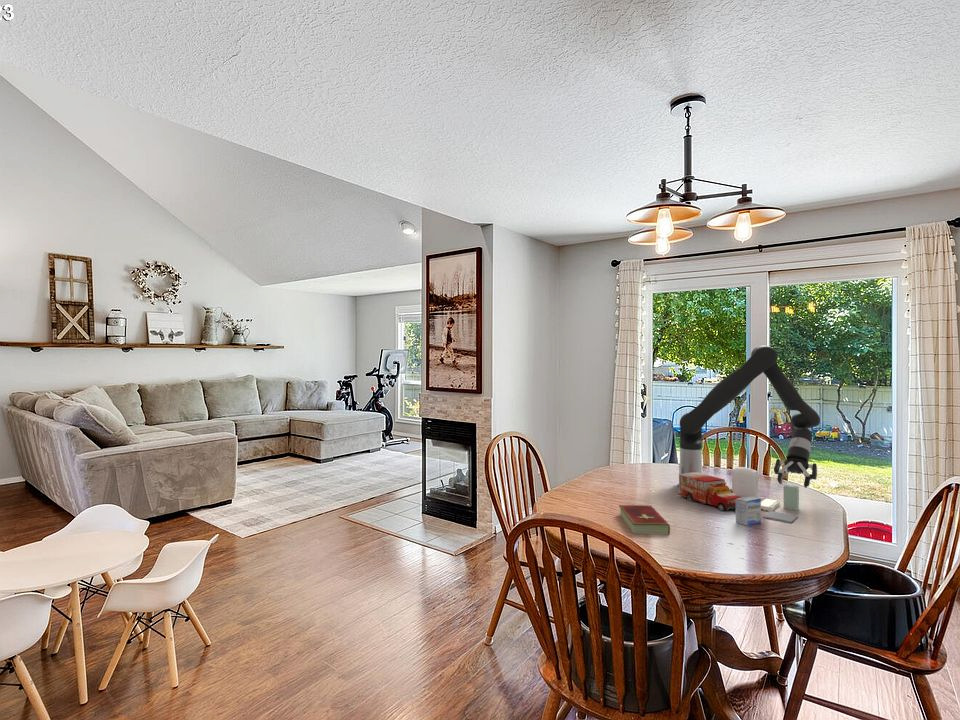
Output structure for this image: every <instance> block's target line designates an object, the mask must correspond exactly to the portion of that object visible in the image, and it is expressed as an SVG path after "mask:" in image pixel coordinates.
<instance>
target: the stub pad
mask: <svg viewBox="0 0 960 720" xmlns="http://www.w3.org/2000/svg"><path fill="white" fill-rule="evenodd" d="M797 517H799V516H798V515H795V514H791V513H784V512H779V511H774V510H773V511H768V512H767V513H765V514H764V515H763V516H762V518H764V519H767V518H769V519H768V520H772V519H773V520H772V521H777V522H783V523H788V522H789V524H793V523H794V522H795V521H796V520H797V519H798V518H797ZM796 518H797V519H796ZM795 519H796V520H795ZM794 520H795V521H794ZM793 521H794V522H793ZM792 522H793V523H792Z"/></svg>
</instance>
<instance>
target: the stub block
mask: <svg viewBox="0 0 960 720" xmlns="http://www.w3.org/2000/svg"><path fill="white" fill-rule="evenodd" d="M799 503H800V486H797V485H791V484H784V485H783V509H787V508H790V509H789V510H792V509H796V510H795V511H798V510H799V509H800V504H799ZM798 508H799V509H798ZM797 509H798V510H797Z"/></svg>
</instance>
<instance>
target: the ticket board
mask: <svg viewBox="0 0 960 720" xmlns="http://www.w3.org/2000/svg"><path fill="white" fill-rule="evenodd" d="M779 506H781V501H780V500H776V499H770V498H765V499H763V500H761V509H763V510H762V511H766V510H768V512H769V511H774V510H775V508H776V509H777V508H778V507H779Z"/></svg>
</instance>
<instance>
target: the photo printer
mask: <svg viewBox="0 0 960 720" xmlns="http://www.w3.org/2000/svg"><path fill="white" fill-rule="evenodd" d="M731 489H732V491H733V494H735V495H738V496H740V497H742V498H743V497H748V496H752V497H757V498H760V497H759V473H758V471H757V470H755V469H753V468H749V467H745V466H738V467H733V468H732V470H731Z"/></svg>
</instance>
